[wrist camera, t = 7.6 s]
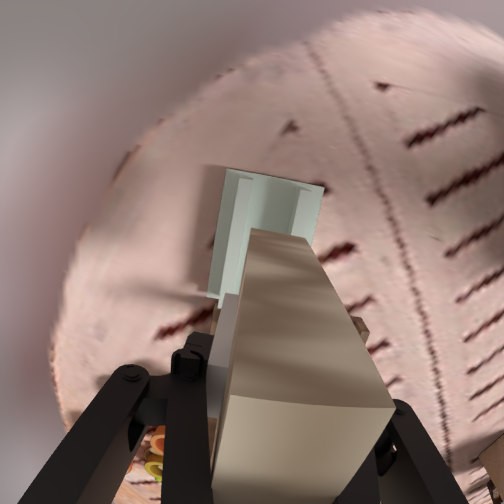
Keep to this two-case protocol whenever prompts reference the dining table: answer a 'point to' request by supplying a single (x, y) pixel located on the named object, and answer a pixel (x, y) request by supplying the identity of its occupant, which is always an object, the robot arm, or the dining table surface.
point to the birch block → (293, 384)
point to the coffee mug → (494, 493)
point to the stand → (257, 221)
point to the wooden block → (495, 464)
